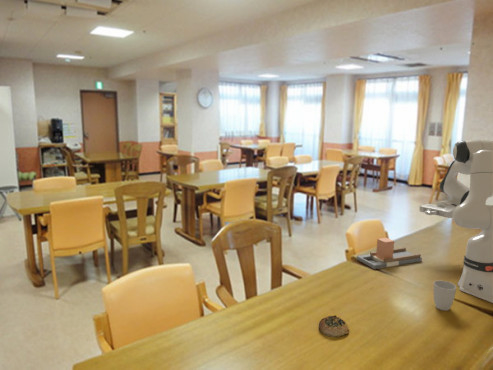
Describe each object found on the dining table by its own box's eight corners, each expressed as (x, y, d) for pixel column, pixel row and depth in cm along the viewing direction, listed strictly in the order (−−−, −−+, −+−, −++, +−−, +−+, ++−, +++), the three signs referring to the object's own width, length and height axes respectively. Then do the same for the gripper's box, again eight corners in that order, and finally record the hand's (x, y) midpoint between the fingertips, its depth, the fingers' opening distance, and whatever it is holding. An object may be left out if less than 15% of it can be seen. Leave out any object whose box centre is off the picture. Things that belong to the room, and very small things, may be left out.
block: (392, 258, 197) (394, 241, 196) (383, 260, 195) (385, 242, 193) (384, 254, 203) (386, 237, 201) (376, 256, 201) (377, 238, 199)
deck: (421, 261, 200) (422, 255, 199) (374, 269, 188) (374, 262, 188) (402, 252, 213) (402, 246, 212) (356, 259, 201) (357, 253, 201)
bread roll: (326, 317, 142) (328, 306, 141) (353, 331, 136) (355, 320, 134) (312, 330, 134) (314, 319, 133) (339, 346, 127) (342, 334, 126)
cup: (457, 312, 147) (460, 289, 145) (437, 312, 147) (439, 289, 145) (447, 302, 155) (449, 280, 153) (427, 302, 155) (430, 280, 153)
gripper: (429, 200, 217) (412, 204, 212) (461, 206, 199) (443, 211, 193) (429, 210, 218) (412, 215, 213) (461, 217, 200) (443, 222, 195)
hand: (427, 213), depth 203 cm, fingers closed
